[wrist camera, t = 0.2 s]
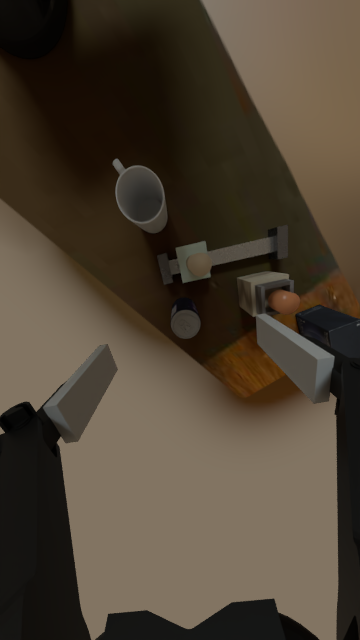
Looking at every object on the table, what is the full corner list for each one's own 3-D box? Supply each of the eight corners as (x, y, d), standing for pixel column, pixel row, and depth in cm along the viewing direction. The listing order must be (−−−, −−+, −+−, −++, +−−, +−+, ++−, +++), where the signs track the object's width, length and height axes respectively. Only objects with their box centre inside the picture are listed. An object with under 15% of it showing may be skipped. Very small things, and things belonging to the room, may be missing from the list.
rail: (158, 255, 37) (156, 255, 34) (277, 227, 35) (287, 224, 32) (165, 282, 39) (164, 284, 36) (278, 257, 37) (287, 257, 34)
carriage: (175, 248, 36) (174, 243, 23) (203, 242, 36) (218, 232, 22) (182, 281, 39) (184, 293, 25) (208, 275, 38) (224, 284, 25)
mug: (175, 220, 35) (174, 202, 23) (150, 241, 36) (138, 234, 25) (143, 172, 32) (124, 124, 21) (117, 197, 33) (86, 165, 22)
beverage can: (184, 323, 43) (186, 346, 31) (167, 308, 41) (163, 327, 30) (200, 307, 41) (208, 325, 30) (183, 291, 40) (184, 304, 29)
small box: (293, 314, 42) (328, 331, 32) (319, 303, 41) (363, 317, 31) (301, 347, 45) (335, 372, 36) (326, 338, 45) (367, 360, 35)
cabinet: (236, 277, 39) (256, 284, 29) (267, 271, 38) (297, 275, 28) (239, 306, 41) (258, 322, 31) (268, 301, 41) (296, 314, 31)
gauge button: (267, 291, 29) (277, 295, 26) (288, 287, 29) (300, 290, 26) (268, 311, 30) (277, 316, 28) (288, 307, 30) (299, 312, 27)
